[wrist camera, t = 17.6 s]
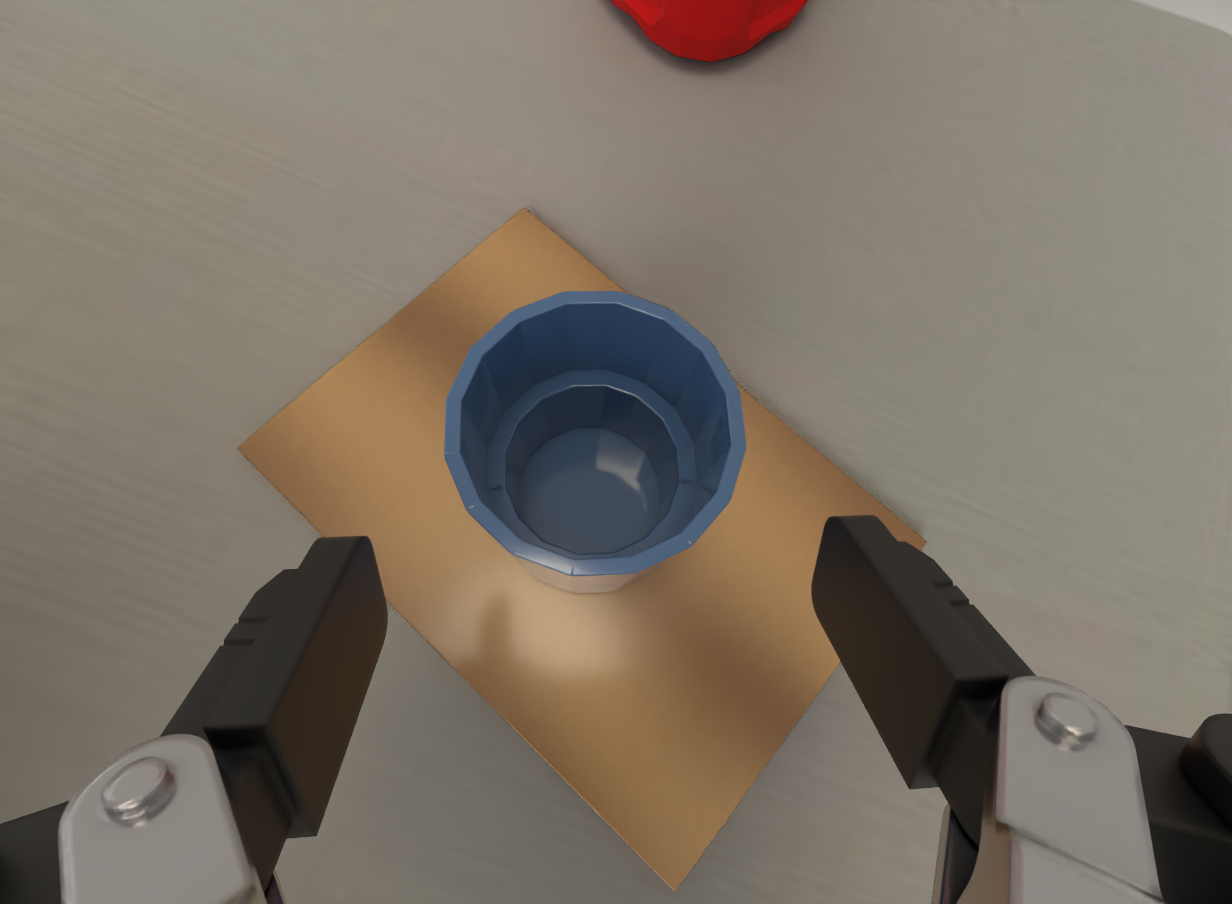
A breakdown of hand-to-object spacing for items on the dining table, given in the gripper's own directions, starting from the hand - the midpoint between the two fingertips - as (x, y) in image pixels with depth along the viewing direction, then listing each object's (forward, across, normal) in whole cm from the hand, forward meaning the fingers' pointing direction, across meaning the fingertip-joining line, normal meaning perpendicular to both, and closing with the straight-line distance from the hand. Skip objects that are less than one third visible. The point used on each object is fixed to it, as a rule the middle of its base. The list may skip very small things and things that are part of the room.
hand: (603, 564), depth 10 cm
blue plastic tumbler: (+9, 0, +4) cm, 10 cm away
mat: (+9, 0, +5) cm, 10 cm away
